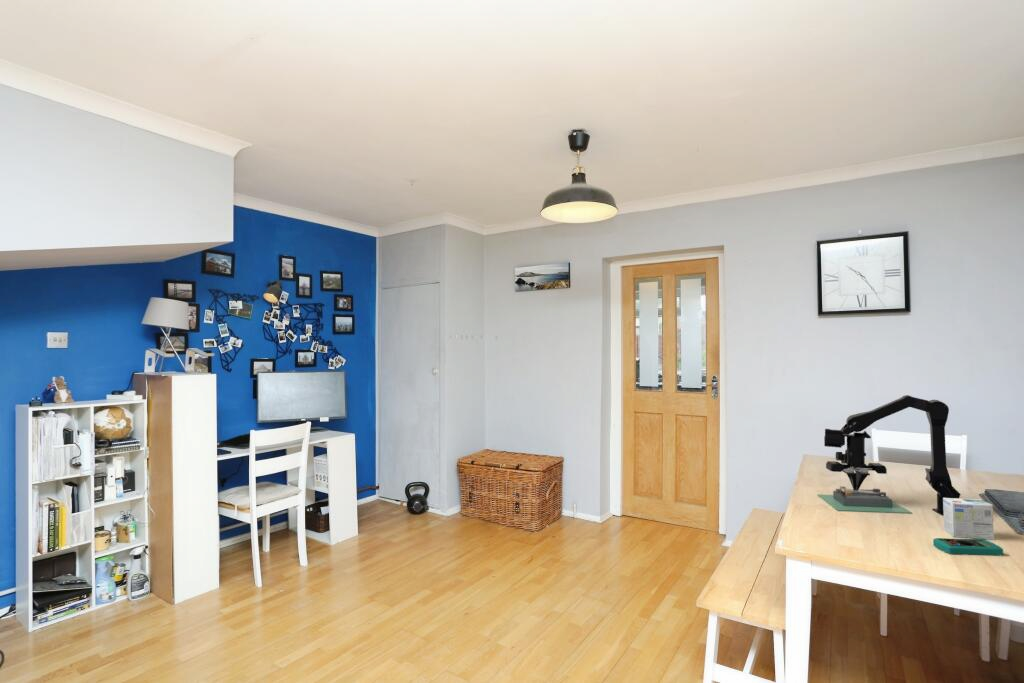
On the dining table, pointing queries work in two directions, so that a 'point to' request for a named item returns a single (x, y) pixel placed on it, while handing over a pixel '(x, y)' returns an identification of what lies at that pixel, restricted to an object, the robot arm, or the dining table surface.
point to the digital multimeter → (967, 546)
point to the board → (840, 507)
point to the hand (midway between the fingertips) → (855, 490)
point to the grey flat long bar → (861, 492)
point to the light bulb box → (968, 518)
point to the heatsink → (862, 499)
